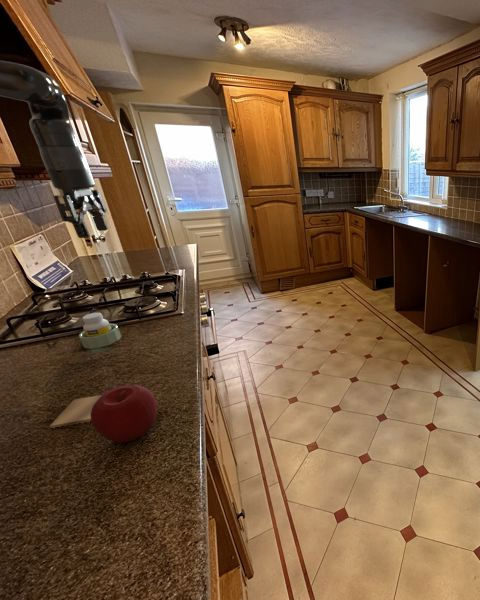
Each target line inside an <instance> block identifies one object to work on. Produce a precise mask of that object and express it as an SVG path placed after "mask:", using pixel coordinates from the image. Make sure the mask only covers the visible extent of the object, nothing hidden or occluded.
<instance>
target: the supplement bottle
mask: <svg viewBox="0 0 480 600" xmlns="http://www.w3.org/2000/svg"><path fill="white" fill-rule="evenodd" d="M82 320H83V321H82V322H84V324H83V327H82V328H83V331H85V333H86V335H87V337H96V336H99V335H103V334H105V333H108V332H110V331H112V329H111V327H110V324H111V323H110V322H109V321H108V319H105V318H104V316H103V314H102V313H101V312H92V313H88V314H85V315H84V316H83V317H82Z"/></svg>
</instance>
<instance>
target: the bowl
mask: <svg viewBox="0 0 480 600" xmlns="http://www.w3.org/2000/svg"><path fill="white" fill-rule="evenodd" d="M109 324H110V327H111V329H112V331H110V332H108V333H105V334H103V335H99V336H96V337H87V335H86V333H85V331H84V330H83V331H82V332H80V333H79V334H78V337H79V340H80V342H81V343H82V346H83V348H84V349H86V350H85V352H86V353H87V354H92V355H94V354H103V353H106V352H109V351H111V350H114V349H116V348H118V347H119V345H116V346H110V345H112V344H114V343H116V342H118V341H120V339H121V338H122V337H123V336H122V334H121V332H120V329H119V327H118V324H117V323H109ZM106 346H107V347H106Z"/></svg>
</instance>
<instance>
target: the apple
mask: <svg viewBox="0 0 480 600" xmlns="http://www.w3.org/2000/svg"><path fill="white" fill-rule="evenodd" d="M101 395H102V396H101V397H100V398H99V399H98V400H97V401H96V402H95V404H94V405H93V408H92V411H91V422H90V423H91V424H92V426H93V428H94V429H95V430H96V431H97V433H98V434H100V435H101V436H102V437H104V438H105V439H107V440H109V441H111V442H115V443H129V442H131V441H135V440H137V439H139V438H141V437H142V436H144V435H145V434H146V433H148V432H149V431H150V430H151V428H152V427H153V426H154V424H155V422H156V419H157V415H158V414H157V413H158V403H157V400H156V398H155V395H154V393H153V392H152V391H150V389H149V388H146V387H144V386H142V385H138V384H126V385H120V386H117V387H113V388H111V389H109V390H108V391H106V392H104V393H103V394H101ZM143 434H144V435H143ZM140 436H141V437H140ZM138 437H139V438H138ZM136 438H137V439H136ZM134 439H135V440H134ZM128 441H129V442H128Z"/></svg>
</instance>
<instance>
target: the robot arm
mask: <svg viewBox="0 0 480 600" xmlns="http://www.w3.org/2000/svg"><path fill="white" fill-rule="evenodd" d="M0 97H3V98H7V99H12V100H16V101H21V102H25V103H27V104H28V108H29V111H30V113H31V118H30V119H29V121H28V122H29V124H28V125H29V128H30V131H31V133H32V135H33V137H34V140H35V142H36V144H37V147H38V150H39V154H40V157H41V160H42V163H43V164H44V167H45V169H46V172H47V174H48V177H49V179H50V181H51V183H52V186H53V188H55V189H57V190H61V191H62V194H58V195H56V194H55V195H53V198H54V199H53V200H54V201H55V204H56V207H57V209H58V212H59V214H60V217H61V219H62V221H63V222H64V223H67V222H68V223H69V224H72V226H73V228H74V230H75V234H76V235H77V237H78V238H79V239H87V238H90V237H91V234H90V232H89V229H88V227H87V225H86V222H85V215H86V214H87V212H88V214H90V216H92V220H93V223H94V225H95V227H96V230H97V231H99V232H102V231H103V232H105V231H107V230H109V228H108V224H107V221H106V220H105V213H108V209H107V207H106V204H105V202H104V199H103V196H102V194H101V192H100V190H99V189H91V188H94V187H96V183H95V181H94V178H93V175H92V173H91V170H90V168H89V165H88V162H87V159H86V157H85V155H84V153H83V151H82V150H81V147H80V143H79V142H78V138H77V136H76V134H75V132H74V129H73V127H72V124H71V118H70V113H69V107H68V103H67V98H66V96H65V93H64V91H63V90H62V87H61V86H60V84H59V83H58V82H57V81H56V80H55V79H54V78H53V77H52V76H51V75H49V74H47V73H46V72H43V71H41V70H38V69H36V68H35V67H32V66H29V65H25V64H21V63H18V62H12V61H5V60H0ZM67 214H68V215H67Z"/></svg>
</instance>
